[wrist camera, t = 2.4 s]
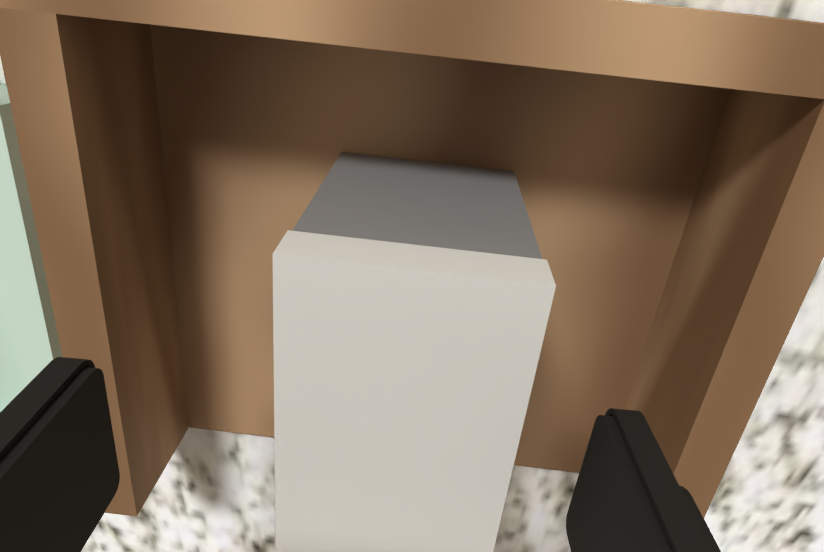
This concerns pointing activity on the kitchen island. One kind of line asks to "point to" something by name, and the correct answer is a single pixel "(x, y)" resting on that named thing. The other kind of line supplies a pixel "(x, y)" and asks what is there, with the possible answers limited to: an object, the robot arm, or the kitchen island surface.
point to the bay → (435, 142)
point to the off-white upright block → (403, 356)
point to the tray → (20, 274)
